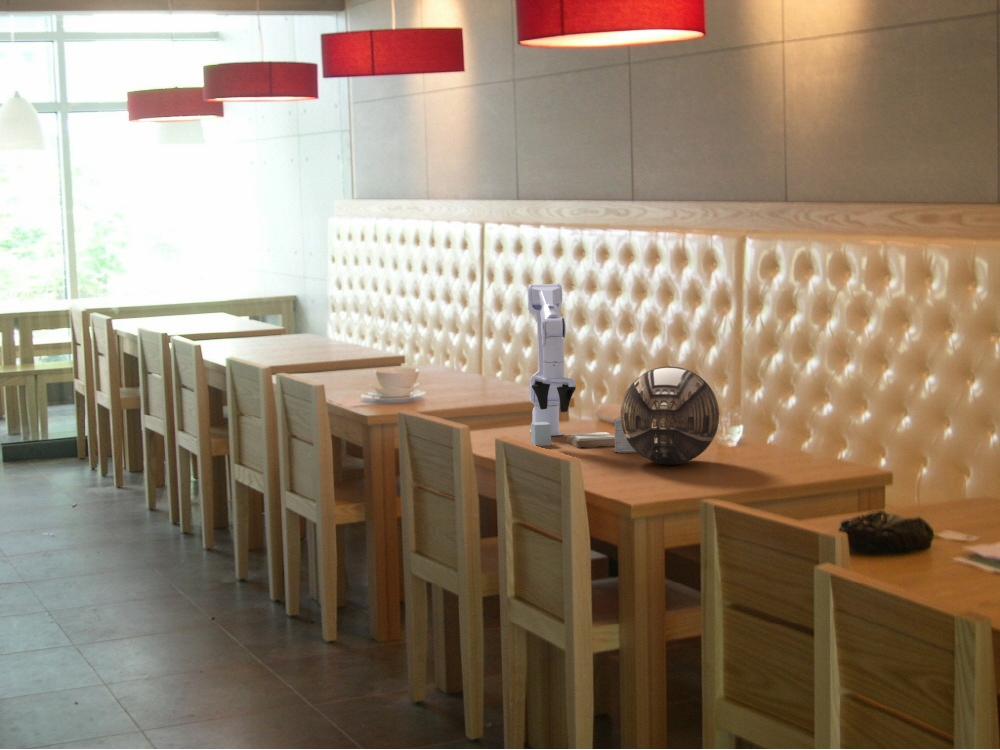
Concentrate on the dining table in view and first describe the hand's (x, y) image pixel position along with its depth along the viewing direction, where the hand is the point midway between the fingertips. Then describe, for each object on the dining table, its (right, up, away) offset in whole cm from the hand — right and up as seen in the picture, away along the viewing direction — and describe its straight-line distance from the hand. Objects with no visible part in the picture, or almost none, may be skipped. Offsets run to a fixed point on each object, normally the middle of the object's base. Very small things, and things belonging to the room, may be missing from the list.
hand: (553, 410), depth 358 cm
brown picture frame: (+11, -10, +4) cm, 15 cm away
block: (-3, -10, +5) cm, 12 cm away
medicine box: (+20, -11, -8) cm, 24 cm away
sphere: (+29, -13, -26) cm, 41 cm away
